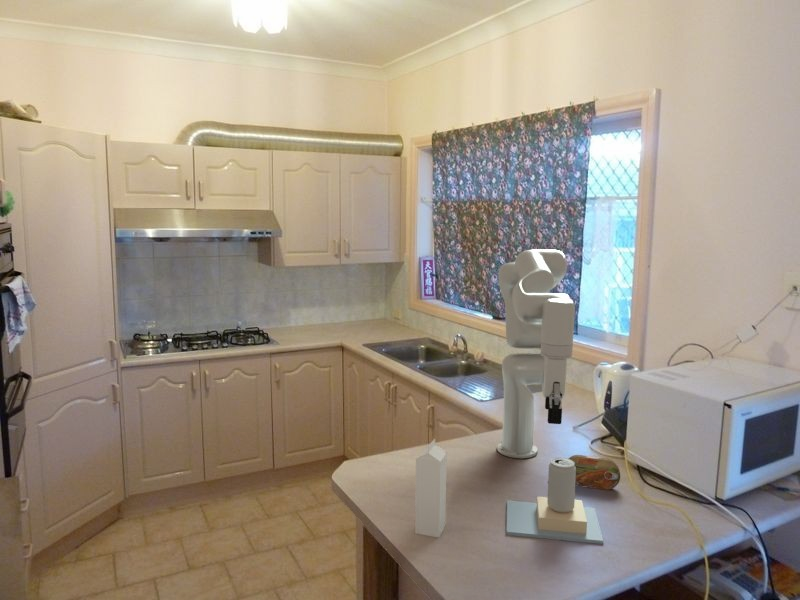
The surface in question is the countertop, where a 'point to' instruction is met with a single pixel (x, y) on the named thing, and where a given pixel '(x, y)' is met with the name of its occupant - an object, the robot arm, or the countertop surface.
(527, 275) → the robot arm
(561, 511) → the beverage can
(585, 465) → the tin
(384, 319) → the countertop surface
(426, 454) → the milk
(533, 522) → the board
